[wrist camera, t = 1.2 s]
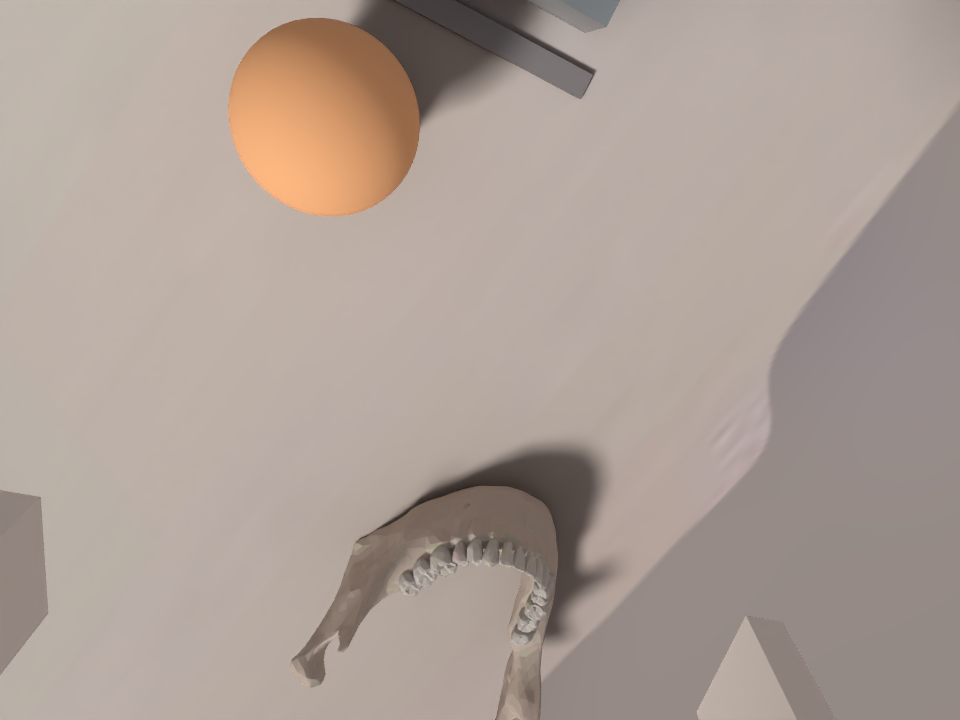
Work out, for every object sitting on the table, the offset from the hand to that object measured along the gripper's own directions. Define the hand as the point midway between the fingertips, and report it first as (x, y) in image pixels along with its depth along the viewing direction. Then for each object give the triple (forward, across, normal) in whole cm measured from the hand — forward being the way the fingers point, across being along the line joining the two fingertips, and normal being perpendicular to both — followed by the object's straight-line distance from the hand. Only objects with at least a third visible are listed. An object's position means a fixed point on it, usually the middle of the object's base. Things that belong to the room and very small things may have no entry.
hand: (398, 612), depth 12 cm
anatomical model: (+20, +4, -16) cm, 25 cm away
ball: (+16, -5, +7) cm, 18 cm away
